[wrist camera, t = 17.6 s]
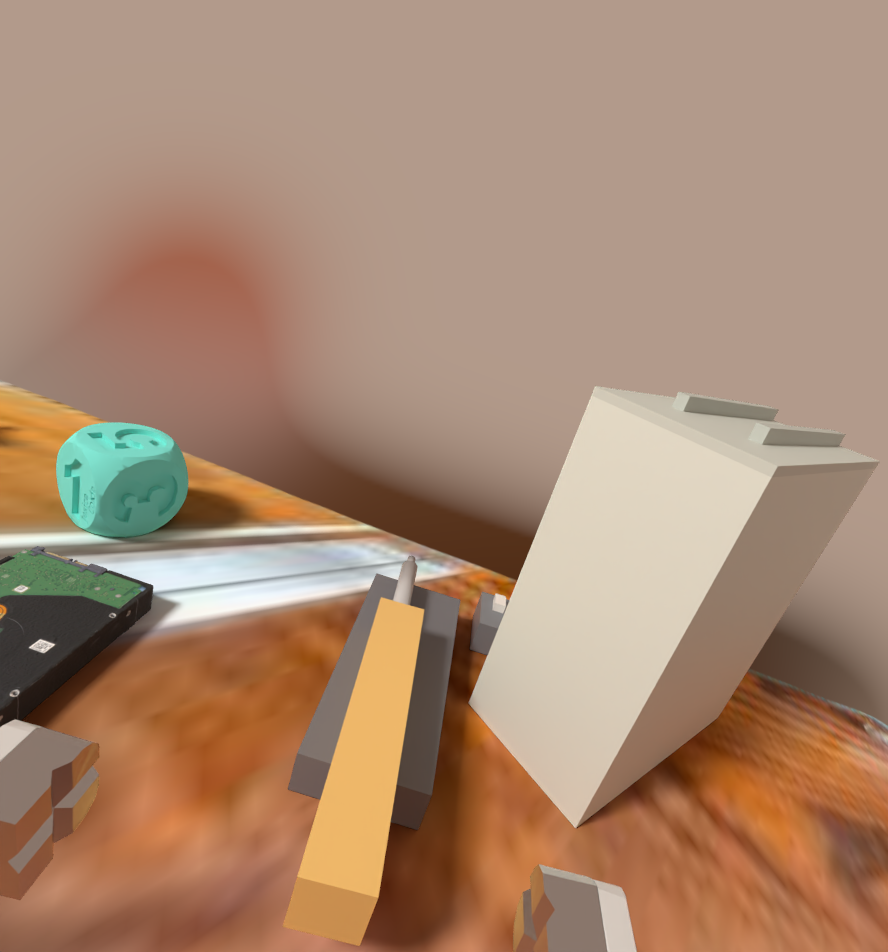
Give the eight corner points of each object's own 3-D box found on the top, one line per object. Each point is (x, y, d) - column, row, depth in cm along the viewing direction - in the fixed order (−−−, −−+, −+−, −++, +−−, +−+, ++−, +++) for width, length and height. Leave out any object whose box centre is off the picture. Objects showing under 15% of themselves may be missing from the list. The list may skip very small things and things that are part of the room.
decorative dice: (54, 504, 50) (56, 425, 47) (142, 490, 56) (148, 419, 54) (95, 547, 46) (100, 463, 43) (184, 526, 53) (193, 452, 50)
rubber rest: (450, 625, 50) (460, 599, 49) (417, 830, 32) (431, 795, 31) (369, 600, 50) (376, 573, 49) (287, 789, 32) (297, 753, 31)
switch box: (551, 641, 53) (565, 610, 51) (555, 676, 48) (570, 643, 47) (472, 616, 53) (484, 584, 51) (469, 649, 48) (482, 615, 47)
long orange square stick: (389, 569, 51) (398, 538, 49) (424, 579, 51) (434, 548, 49) (282, 926, 23) (297, 876, 22) (359, 946, 23) (378, 897, 22)
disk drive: (-26, 774, 28) (153, 611, 42) (-28, 737, 27) (156, 582, 41) (-209, 711, 29) (29, 569, 42) (-218, 671, 28) (29, 539, 41)
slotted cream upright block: (619, 639, 57) (743, 395, 47) (717, 717, 49) (887, 449, 40) (468, 703, 42) (601, 370, 32) (575, 828, 35) (788, 446, 25)
